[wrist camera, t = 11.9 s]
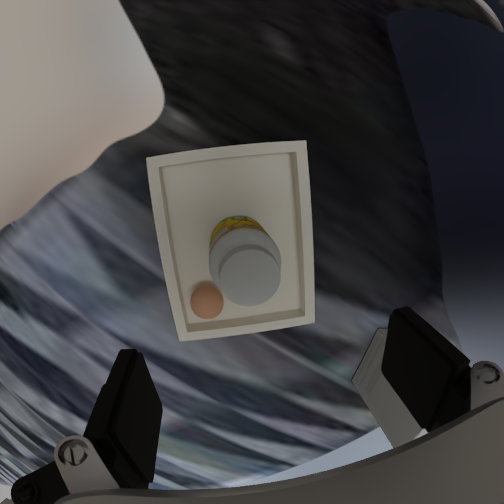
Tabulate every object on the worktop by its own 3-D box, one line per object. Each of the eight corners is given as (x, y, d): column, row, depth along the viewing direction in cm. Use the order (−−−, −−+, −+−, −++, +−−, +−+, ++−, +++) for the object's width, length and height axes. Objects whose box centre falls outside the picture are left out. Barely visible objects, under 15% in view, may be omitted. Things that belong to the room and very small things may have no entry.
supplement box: (395, 381, 38) (444, 446, 23) (349, 380, 36) (396, 460, 22) (422, 331, 35) (487, 391, 21) (378, 325, 34) (445, 399, 20)
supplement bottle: (198, 247, 27) (190, 287, 18) (233, 202, 27) (242, 220, 18) (243, 279, 29) (256, 329, 20) (277, 236, 28) (307, 270, 19)
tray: (152, 158, 25) (146, 157, 23) (298, 142, 27) (306, 140, 24) (181, 329, 31) (179, 341, 28) (307, 311, 32) (314, 322, 29)
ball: (188, 282, 28) (186, 296, 25) (220, 278, 29) (221, 292, 26) (194, 311, 29) (192, 327, 26) (225, 307, 30) (226, 323, 26)
